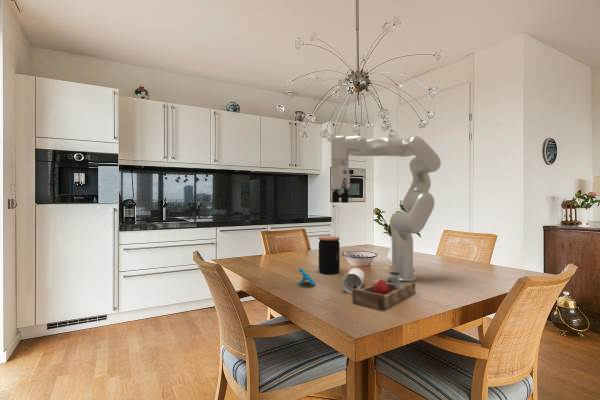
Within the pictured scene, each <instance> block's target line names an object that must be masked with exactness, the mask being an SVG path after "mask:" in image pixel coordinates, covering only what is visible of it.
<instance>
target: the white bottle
mask: <svg viewBox="0 0 600 400" xmlns="http://www.w3.org/2000/svg"><path fill="white" fill-rule="evenodd" d="M365 279H366V274H365V273H364V271H363V270H362V269H360V268H359V267H353V268H351V269H350V270H349V271H348V272H347V274H345V275H344V276H343V277H342V279H341V282H340V284H341V287H342V288H343V290H344V291H345V292H346V293H348V294H353V290H352V289H354V287H355V289H359V290H360V289H362V287H363V284H364V282H365Z"/></svg>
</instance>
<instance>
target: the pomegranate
mask: <svg viewBox="0 0 600 400" xmlns="http://www.w3.org/2000/svg"><path fill="white" fill-rule="evenodd" d="M383 280H384V279H383V278H380V279H379V280H378V281H377V282H375V283H376V284H375V283H374V284H375V285H374V288H373V291H374V293H379V294H384V295H385V294H387V293H389V287H388V285H387V284H386V283H385V282H384V281H383Z"/></svg>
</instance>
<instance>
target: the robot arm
mask: <svg viewBox="0 0 600 400" xmlns="http://www.w3.org/2000/svg"><path fill="white" fill-rule="evenodd" d="M350 156H355V157H357V156H358V157H369V156H370V157H381V156H383V157H401V158H403V157H404V158H407V157H411V156H414V157H413V158H411V160H410V162H409V165H408V166H409V171H410V173H411V175H412V181H411V184H410V187H409V188H408V190H407V192H406V194H405V196H404V197H403V201H402V208H403V209H404V210H405V211H397V212H394V213H393V214H392V215H391V217H390V219H389V226H390V227H389V228H390V232H391V272H399V273H400V275H399V282H414V281H417V278H418V277H417V275H414V272H415V271H416V269H415V268H414V238H413V235H412V234H418V233H420V232H421V231H422V230H423V229H424V228H425V226H426V223H428V220H429V218H430V216H431V214H432V212H433V210H434V207H435V199H434V198H435V197H434V196H433V194H431V193H430V192H429V191H430V190H431V185H432V182H431V178H430V175H429V174H430V173H434V172H437V171H438V170H439V169H440V167H441V164H442V162H441V161H442V160H441V158H440V156H439V154H437V152H436V151H434V149H433V148H432V147H431V146H430V145H429V144H428V143H427V142H426V141H425V139H423V138H422V137H420V136H417V135H413V136H410V137H404V138H402V137H401V138H400V137H387V136H385V137H378V138H372V139H366V137H364V136H363V135H349V136H346V135H335V136H333V137H331V168H332V171H331V172H332V173H331V184H330V185H331V199H332V200H331V203H340V201H341V203H343V204H344V203H349V193H350V191H349V190H350V188H351V179H350V178H351V177H350V167H349V166H350V165H349V163H350V162H349V160H350V159H349V157H350ZM340 190H341V193H340ZM340 196H341V197H340ZM340 198H341V199H340ZM388 278H390V279H391V274H390V273H389V274H388Z"/></svg>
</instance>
